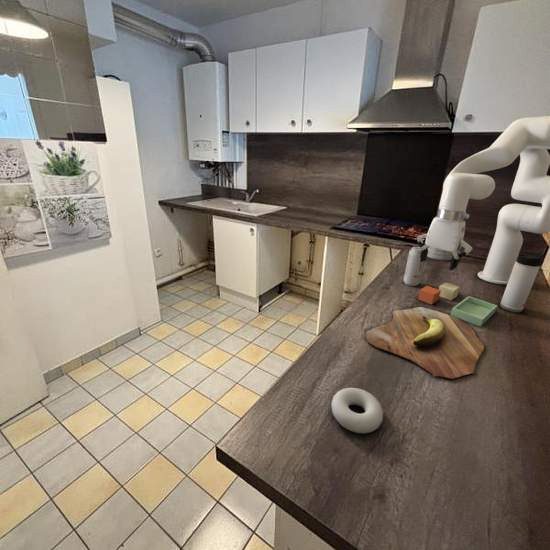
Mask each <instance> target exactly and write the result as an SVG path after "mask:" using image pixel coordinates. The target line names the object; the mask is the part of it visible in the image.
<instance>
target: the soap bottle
mask: <svg viewBox="0 0 550 550" xmlns="http://www.w3.org/2000/svg"><path fill="white" fill-rule="evenodd" d="M427 250H428V255H427V258H429V259H431V260H437V261H444V262H445V261H452V259H453V254H452V252H448V251H444V250H440V249H436V248H432V247H429V248H428V249H427Z"/></svg>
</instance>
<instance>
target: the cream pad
mask: <svg viewBox="0 0 550 550" xmlns="http://www.w3.org/2000/svg"><path fill="white" fill-rule="evenodd" d="M460 288H461V287H460V286H459V285H456V284H453V283H450V282H444V283H442V284H440V285H439V287H438V290H441V292H440V296H439V298H443V299H447V300H449V301H452V300H454V299H455V298H457V297H458V295H459V291H460Z"/></svg>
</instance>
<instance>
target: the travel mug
mask: <svg viewBox="0 0 550 550" xmlns="http://www.w3.org/2000/svg"><path fill="white" fill-rule="evenodd" d="M545 257H546V256H545V254H543V253H536V252H519V254H518V257H517V260H516V262H515V265H514V267H513V270H512V273H511V276H510V278H509V281H508V284H507V285H506V287H505V290H504V293H503V295H502V298H501V301H500V302H499V306H500V308H501V309H503V310H505V311H508V312H511V313H522V311H523V310H524V307H525V305H526V302H527V300H528V297H529V295H530V293H531V290H532V287H533V285H534V284H535V283H534V282H535V280H536V278H537V275H538V273H539V270H540V267H541V265H542V262H543V260H544V258H545Z"/></svg>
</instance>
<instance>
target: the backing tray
mask: <svg viewBox="0 0 550 550" xmlns="http://www.w3.org/2000/svg"><path fill="white" fill-rule="evenodd" d="M497 308H498V304H494V303H491V302H488V301H485V300H482V299H479V298H475V297H473V296H470V295H468V296H467V297H465V298H464V299H463V300H461V301H459V303H457V304H456V305H455V306H453V307H452V308H451V311H450V316H452V317H455V318H458V319H460V320H462V321H463V322H467V323H470V324H473V325H475V326H477V327H482V326H483V325H484V324H485V323H487V321H488V320H489V319H490V318H491V317H492V316H493V315H494V314H495V313H496V312H497Z"/></svg>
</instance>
